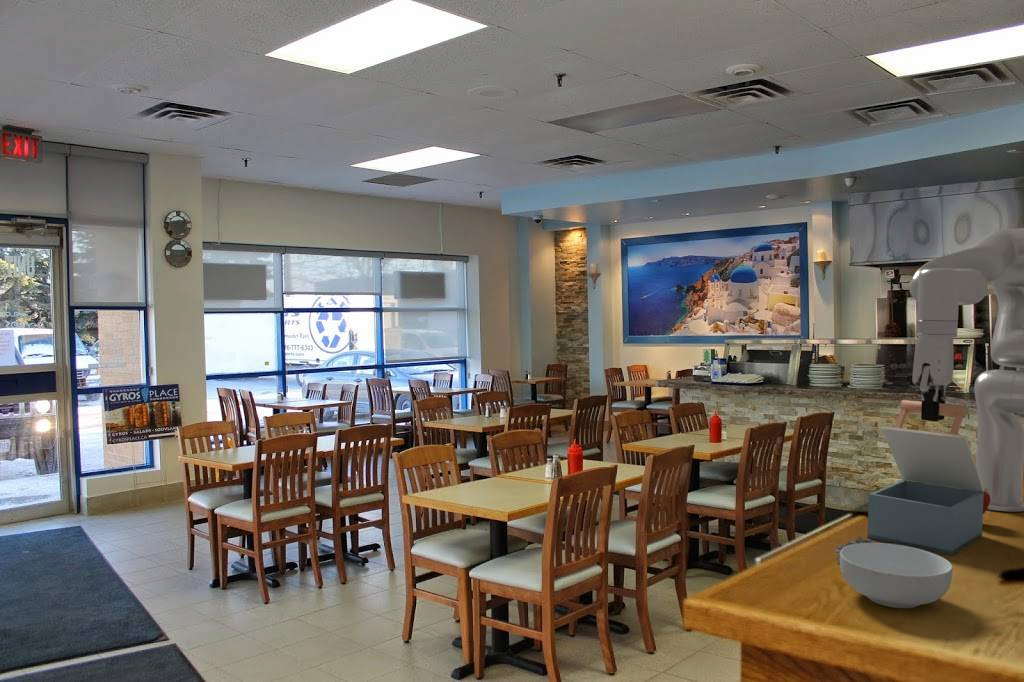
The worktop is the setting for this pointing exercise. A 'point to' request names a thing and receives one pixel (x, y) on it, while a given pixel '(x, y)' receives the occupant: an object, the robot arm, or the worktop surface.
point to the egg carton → (856, 541)
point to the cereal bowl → (895, 573)
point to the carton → (925, 516)
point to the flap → (933, 451)
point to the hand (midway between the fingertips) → (932, 419)
